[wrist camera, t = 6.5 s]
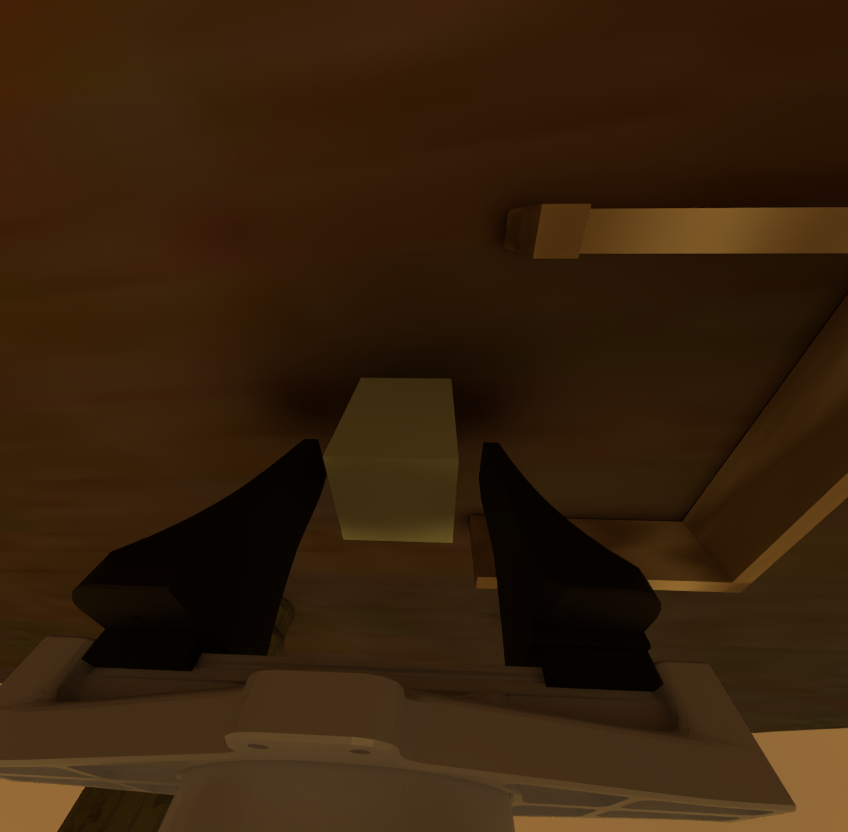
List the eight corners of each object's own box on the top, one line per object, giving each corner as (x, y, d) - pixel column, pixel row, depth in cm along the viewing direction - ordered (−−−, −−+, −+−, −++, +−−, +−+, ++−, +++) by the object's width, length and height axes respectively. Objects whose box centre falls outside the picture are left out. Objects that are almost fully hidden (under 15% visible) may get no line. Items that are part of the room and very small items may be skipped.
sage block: (451, 378, 15) (458, 459, 10) (447, 449, 17) (452, 542, 12) (361, 377, 15) (322, 456, 10) (370, 447, 17) (343, 539, 12)
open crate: (940, 206, 10) (1197, 199, 7) (689, 532, 20) (742, 597, 17) (508, 209, 11) (542, 204, 7) (469, 526, 21) (475, 588, 17)
